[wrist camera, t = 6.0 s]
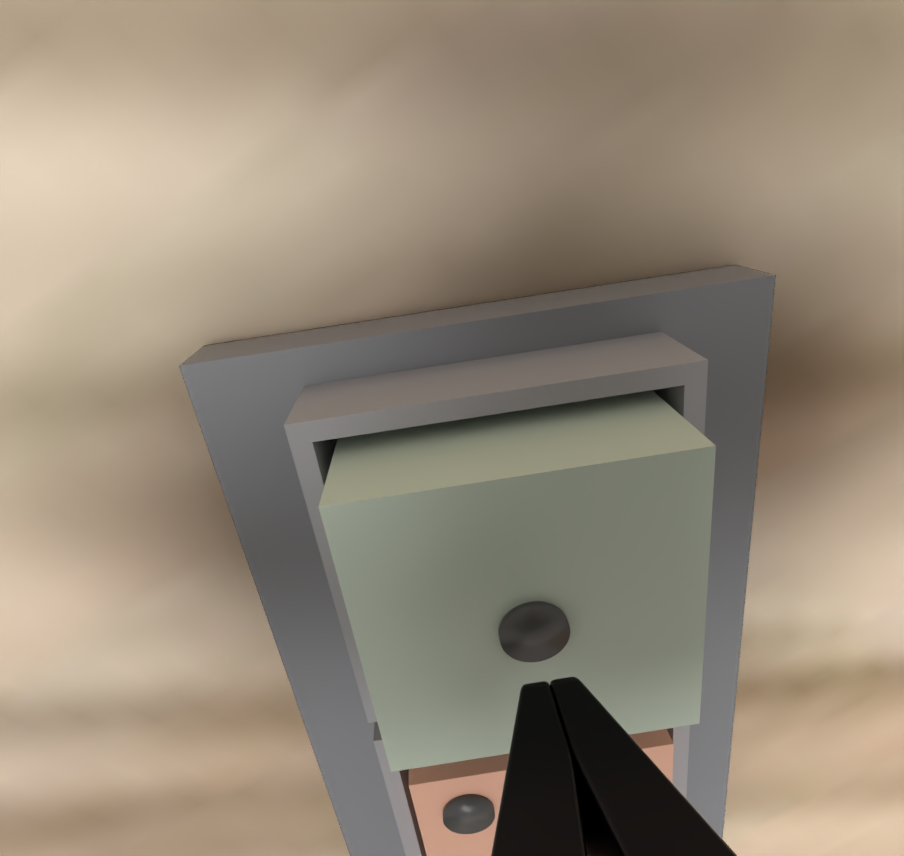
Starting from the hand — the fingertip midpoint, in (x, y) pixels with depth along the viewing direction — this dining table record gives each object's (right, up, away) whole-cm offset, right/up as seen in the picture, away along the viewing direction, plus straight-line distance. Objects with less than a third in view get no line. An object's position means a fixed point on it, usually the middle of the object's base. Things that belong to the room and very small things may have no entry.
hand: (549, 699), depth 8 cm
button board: (+1, -4, +9) cm, 10 cm away
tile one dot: (0, +2, +4) cm, 4 cm away
